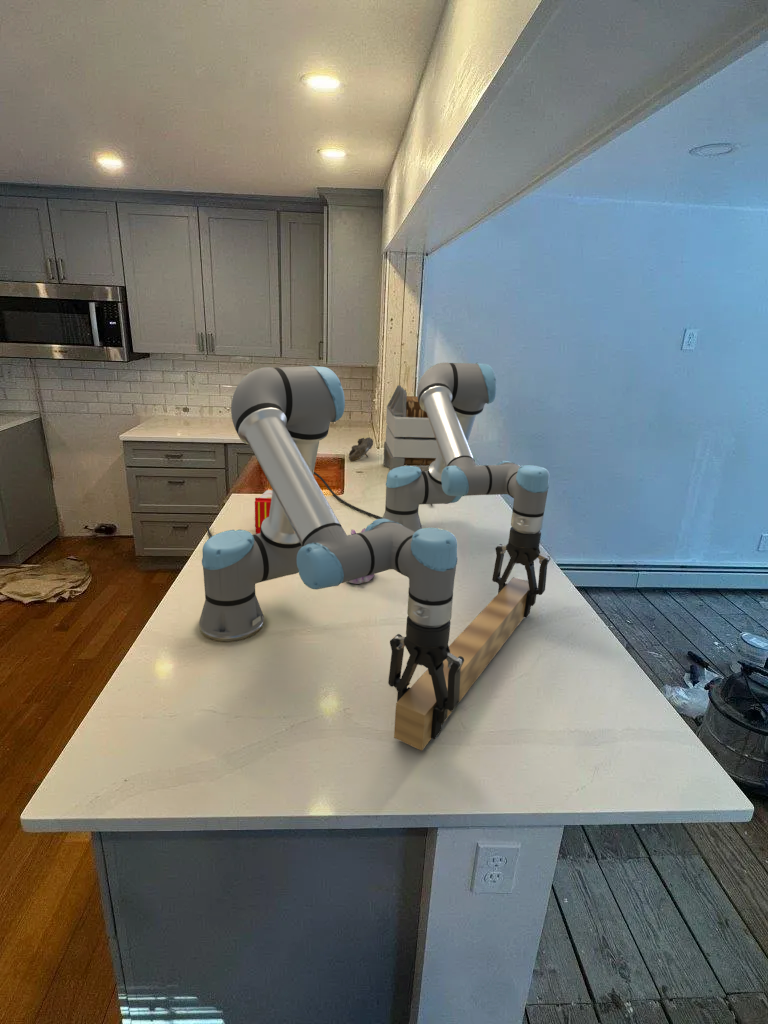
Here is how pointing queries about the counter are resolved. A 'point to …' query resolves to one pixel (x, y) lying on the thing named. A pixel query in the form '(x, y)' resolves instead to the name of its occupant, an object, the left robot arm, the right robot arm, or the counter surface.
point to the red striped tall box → (262, 509)
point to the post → (477, 652)
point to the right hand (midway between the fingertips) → (514, 611)
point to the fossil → (360, 449)
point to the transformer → (408, 433)
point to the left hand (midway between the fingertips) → (420, 726)
